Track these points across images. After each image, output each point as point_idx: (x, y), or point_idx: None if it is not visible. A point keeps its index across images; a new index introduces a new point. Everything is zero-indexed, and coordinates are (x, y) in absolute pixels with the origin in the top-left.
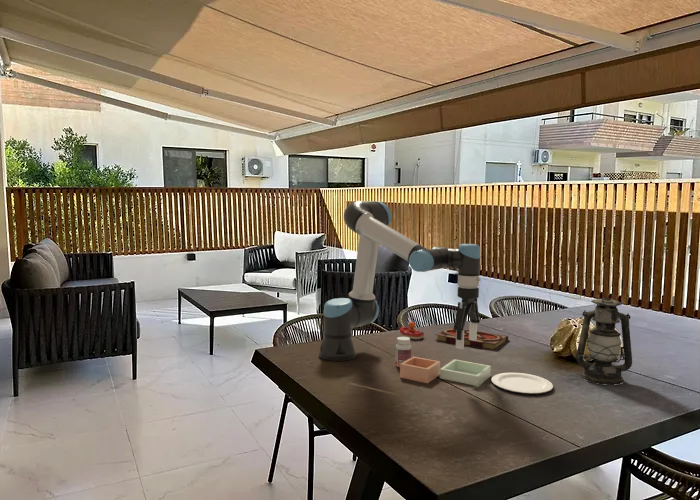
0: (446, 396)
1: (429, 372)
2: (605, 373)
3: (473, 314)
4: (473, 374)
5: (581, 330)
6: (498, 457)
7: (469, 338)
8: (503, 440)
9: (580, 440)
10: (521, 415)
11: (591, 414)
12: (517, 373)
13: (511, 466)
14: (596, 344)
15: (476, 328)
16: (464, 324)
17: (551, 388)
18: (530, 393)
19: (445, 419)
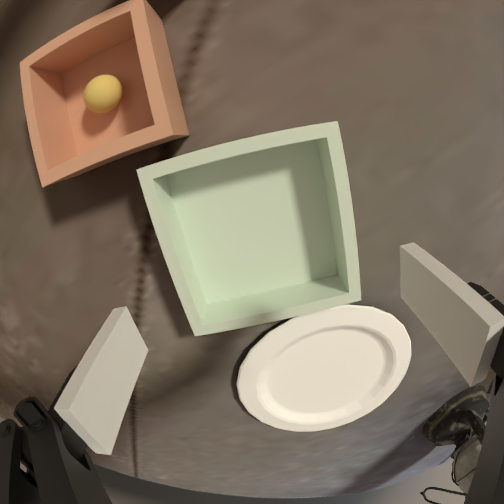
0: (64, 283)
1: (64, 178)
2: (438, 442)
3: (468, 499)
4: (306, 235)
5: None
6: None
7: (404, 254)
8: None
9: (152, 477)
10: (145, 430)
11: (257, 475)
12: (399, 339)
13: None
14: (462, 478)
15: (452, 352)
16: (105, 501)
17: (328, 428)
18: (261, 420)
19: (8, 343)
